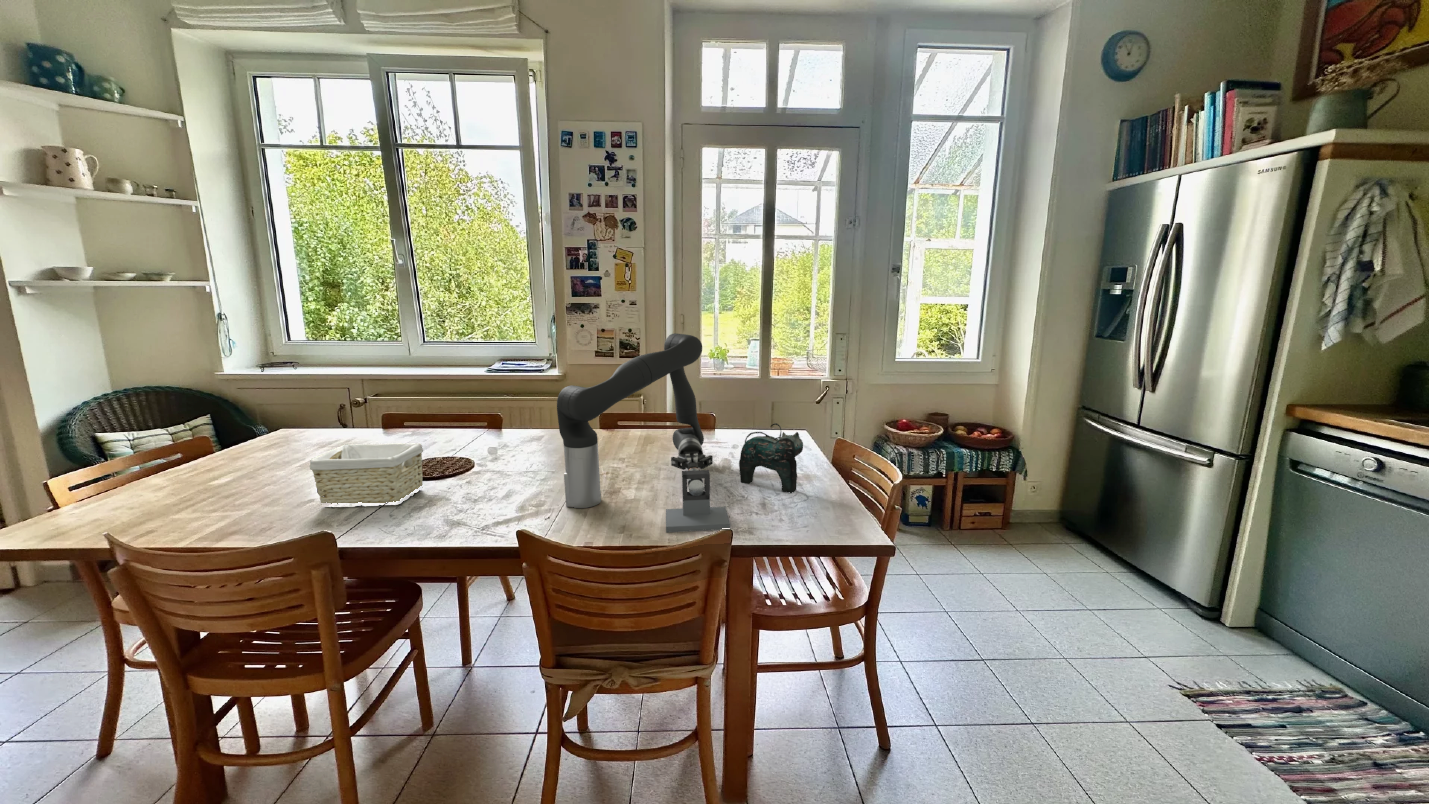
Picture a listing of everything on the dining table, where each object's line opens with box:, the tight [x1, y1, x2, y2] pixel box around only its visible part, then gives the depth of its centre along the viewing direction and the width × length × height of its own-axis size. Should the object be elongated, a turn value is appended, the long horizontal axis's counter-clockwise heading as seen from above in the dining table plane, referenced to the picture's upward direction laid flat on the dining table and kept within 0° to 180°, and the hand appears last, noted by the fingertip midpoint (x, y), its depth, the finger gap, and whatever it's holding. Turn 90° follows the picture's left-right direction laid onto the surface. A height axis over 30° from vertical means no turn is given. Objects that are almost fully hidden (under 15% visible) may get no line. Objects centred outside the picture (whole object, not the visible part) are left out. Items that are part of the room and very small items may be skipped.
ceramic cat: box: [738, 422, 804, 494], centre depth 161 cm, size 20×6×20 cm, turn 56°
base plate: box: [665, 499, 731, 533], centre depth 139 cm, size 16×11×6 cm
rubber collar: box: [681, 469, 711, 502], centre depth 140 cm, size 7×3×7 cm, turn 95°
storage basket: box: [309, 442, 424, 504], centre depth 156 cm, size 24×16×15 cm
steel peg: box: [687, 467, 705, 496], centre depth 143 cm, size 4×11×4 cm, turn 5°
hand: (693, 470), depth 151 cm, fingers closed
